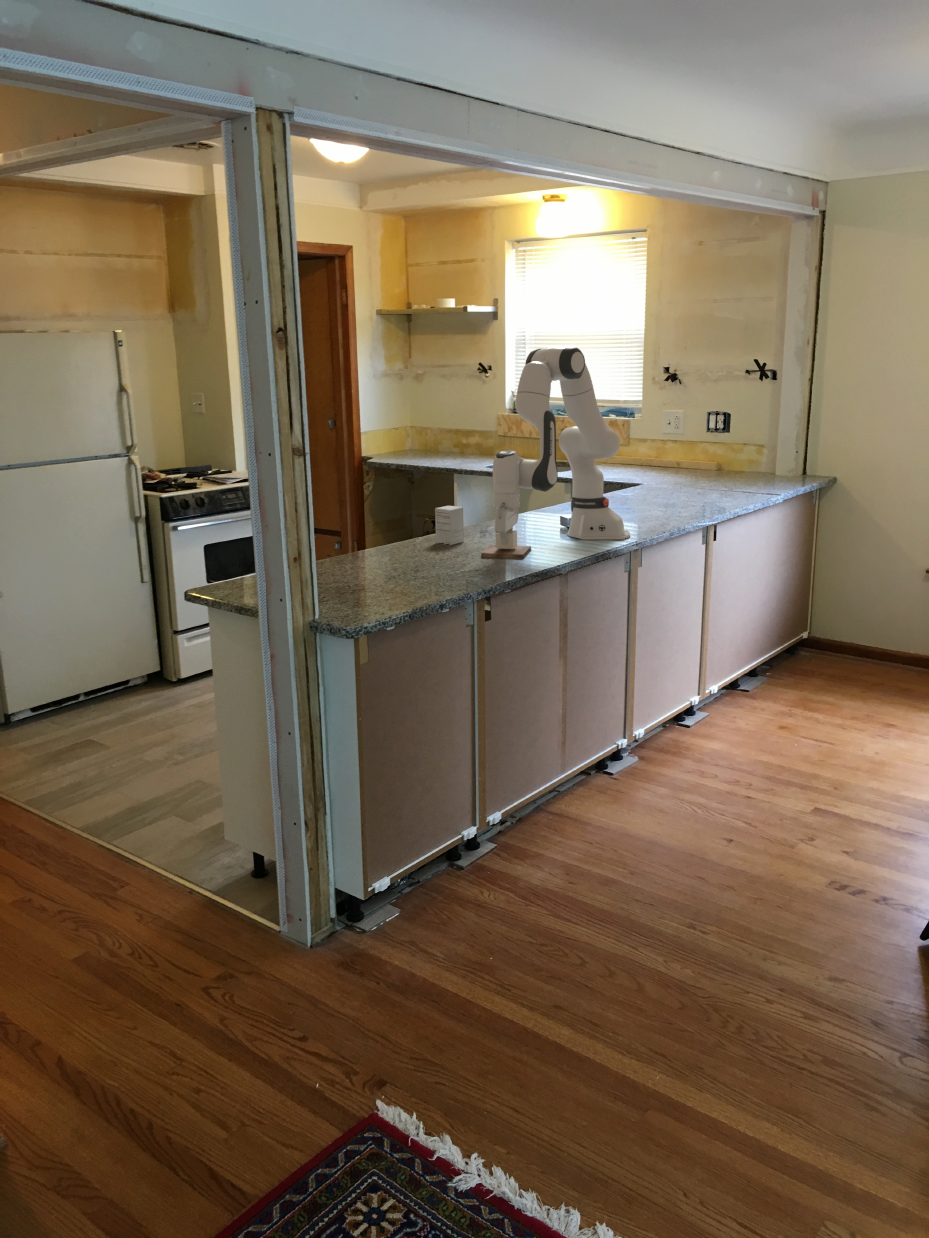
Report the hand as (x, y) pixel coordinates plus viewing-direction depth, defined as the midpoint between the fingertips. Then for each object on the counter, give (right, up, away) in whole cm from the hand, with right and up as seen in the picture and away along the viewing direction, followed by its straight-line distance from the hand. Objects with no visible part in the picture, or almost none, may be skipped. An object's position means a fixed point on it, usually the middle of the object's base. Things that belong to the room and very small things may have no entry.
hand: (506, 542), depth 332 cm
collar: (0, -2, 0) cm, 2 cm away
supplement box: (-19, +1, +22) cm, 29 cm away
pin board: (0, -4, +1) cm, 4 cm away
